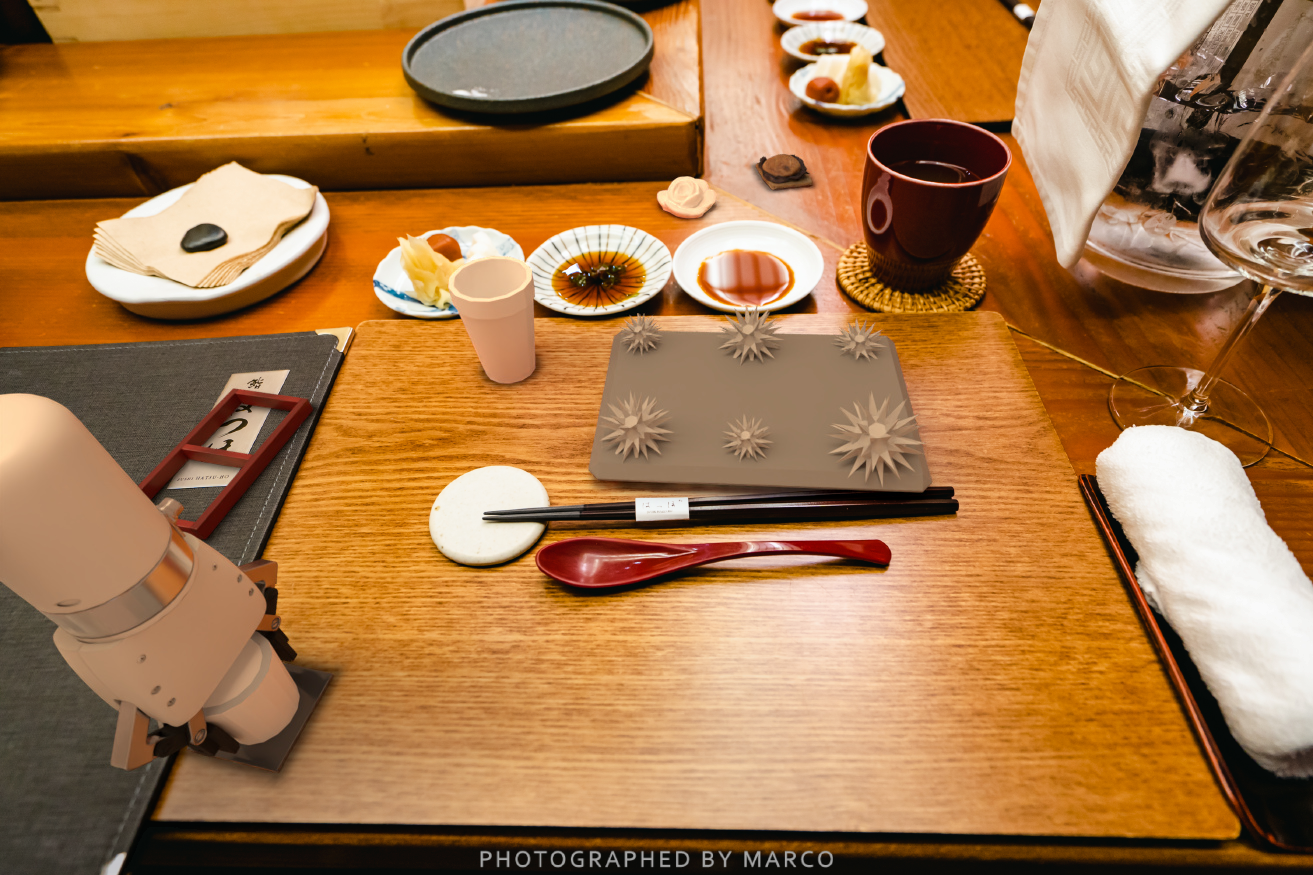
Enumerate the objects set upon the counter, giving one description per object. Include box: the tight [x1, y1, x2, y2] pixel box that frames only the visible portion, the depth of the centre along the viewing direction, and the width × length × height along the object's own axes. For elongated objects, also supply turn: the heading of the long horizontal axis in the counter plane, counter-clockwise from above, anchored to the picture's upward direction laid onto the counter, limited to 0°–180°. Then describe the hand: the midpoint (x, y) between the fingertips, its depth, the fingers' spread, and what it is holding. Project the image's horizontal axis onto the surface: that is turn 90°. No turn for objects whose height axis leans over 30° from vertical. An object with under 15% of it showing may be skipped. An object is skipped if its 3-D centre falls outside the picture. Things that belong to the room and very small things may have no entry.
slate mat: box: [186, 662, 335, 774], centre depth 55 cm, size 8×8×1 cm
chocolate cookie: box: [755, 153, 813, 190], centre depth 120 cm, size 11×8×4 cm
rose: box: [656, 176, 718, 219], centre depth 113 cm, size 10×4×10 cm
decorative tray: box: [587, 304, 933, 493], centre depth 75 cm, size 35×26×10 cm
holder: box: [137, 387, 314, 540], centre depth 75 cm, size 10×19×2 cm, turn 168°
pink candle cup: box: [203, 631, 300, 745], centre depth 53 cm, size 7×7×7 cm
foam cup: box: [447, 255, 536, 384], centre depth 81 cm, size 10×9×13 cm
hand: (251, 697), depth 54 cm, fingers closed on pink candle cup, 6 cm apart
